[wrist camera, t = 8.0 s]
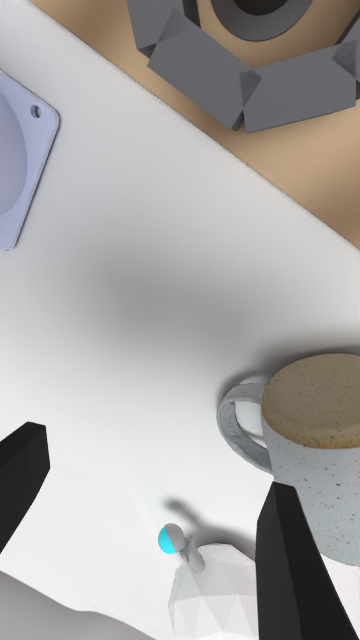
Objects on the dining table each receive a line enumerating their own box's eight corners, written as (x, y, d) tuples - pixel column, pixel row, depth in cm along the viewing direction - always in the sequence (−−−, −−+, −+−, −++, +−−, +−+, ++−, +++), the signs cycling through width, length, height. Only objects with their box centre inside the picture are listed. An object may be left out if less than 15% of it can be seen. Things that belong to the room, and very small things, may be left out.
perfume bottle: (197, 633, 30) (113, 540, 28) (264, 565, 32) (187, 472, 30) (230, 740, 23) (116, 622, 21) (316, 643, 24) (217, 525, 22)
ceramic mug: (388, 332, 18) (458, 443, 11) (401, 441, 21) (461, 577, 14) (203, 364, 21) (177, 462, 15) (237, 453, 24) (227, 567, 18)
